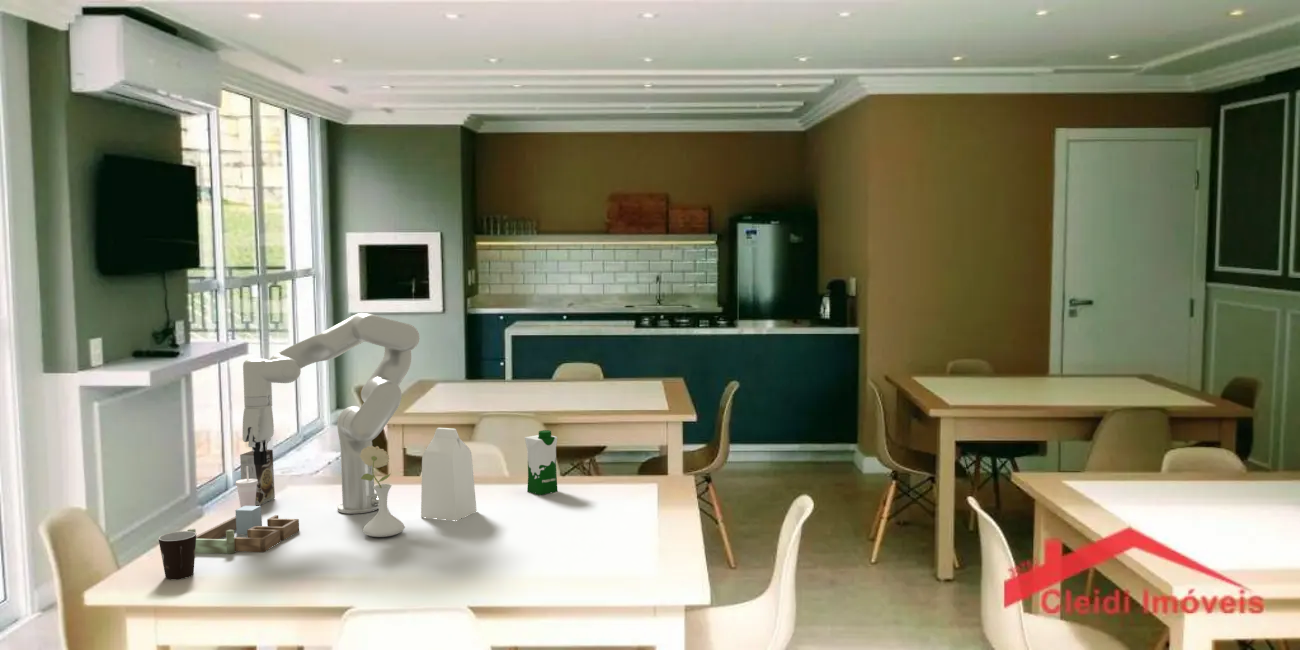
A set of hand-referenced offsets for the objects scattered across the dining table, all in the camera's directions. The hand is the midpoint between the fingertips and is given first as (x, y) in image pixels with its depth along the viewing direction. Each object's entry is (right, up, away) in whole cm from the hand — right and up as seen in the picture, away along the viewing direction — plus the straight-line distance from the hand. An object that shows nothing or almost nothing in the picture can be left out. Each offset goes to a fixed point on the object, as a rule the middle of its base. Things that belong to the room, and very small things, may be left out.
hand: (260, 464), depth 311 cm
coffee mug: (-4, -22, -47) cm, 52 cm away
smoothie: (-10, -17, +16) cm, 25 cm away
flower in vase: (+38, -18, -11) cm, 44 cm away
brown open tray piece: (+2, -19, -15) cm, 24 cm away
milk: (+53, -16, +9) cm, 56 cm away
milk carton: (+78, -14, +35) cm, 87 cm away
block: (-1, -18, -7) cm, 20 cm away
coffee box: (-11, -16, +28) cm, 34 cm away
